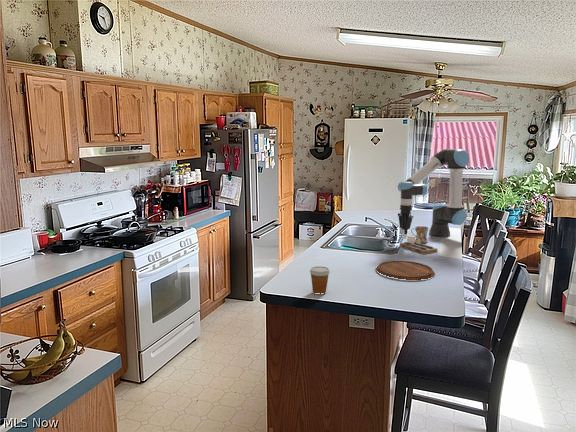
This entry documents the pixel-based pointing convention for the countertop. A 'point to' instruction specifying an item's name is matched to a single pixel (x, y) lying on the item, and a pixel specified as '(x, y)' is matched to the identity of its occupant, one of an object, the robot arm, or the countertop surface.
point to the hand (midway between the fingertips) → (404, 238)
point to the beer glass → (319, 278)
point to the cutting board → (405, 270)
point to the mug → (421, 234)
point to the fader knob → (411, 239)
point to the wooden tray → (418, 247)
